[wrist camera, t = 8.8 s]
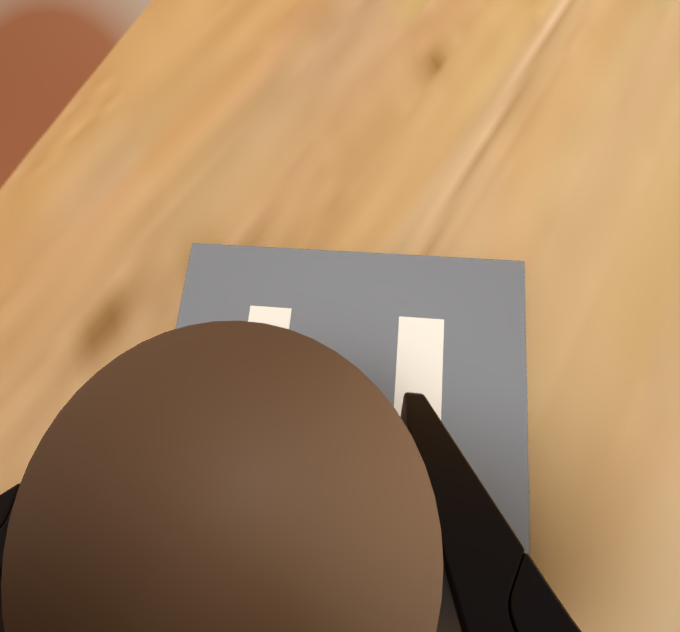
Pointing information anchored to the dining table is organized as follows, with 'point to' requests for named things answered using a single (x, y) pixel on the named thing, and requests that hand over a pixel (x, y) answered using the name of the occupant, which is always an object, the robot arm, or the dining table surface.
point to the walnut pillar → (225, 497)
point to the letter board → (398, 336)
